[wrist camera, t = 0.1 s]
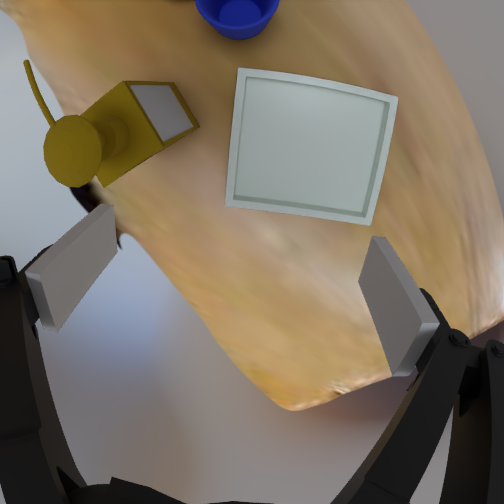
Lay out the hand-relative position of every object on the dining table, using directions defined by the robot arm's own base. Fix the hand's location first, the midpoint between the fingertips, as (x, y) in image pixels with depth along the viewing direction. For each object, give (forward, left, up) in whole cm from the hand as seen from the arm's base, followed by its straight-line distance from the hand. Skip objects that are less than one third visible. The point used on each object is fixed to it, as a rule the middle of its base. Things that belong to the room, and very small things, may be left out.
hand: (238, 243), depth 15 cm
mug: (-19, -3, -28) cm, 34 cm away
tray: (-1, +7, -28) cm, 29 cm away
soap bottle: (-5, -14, -28) cm, 32 cm away
